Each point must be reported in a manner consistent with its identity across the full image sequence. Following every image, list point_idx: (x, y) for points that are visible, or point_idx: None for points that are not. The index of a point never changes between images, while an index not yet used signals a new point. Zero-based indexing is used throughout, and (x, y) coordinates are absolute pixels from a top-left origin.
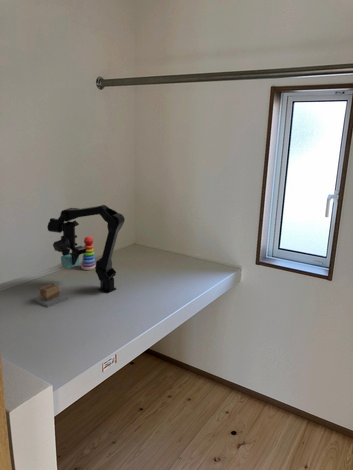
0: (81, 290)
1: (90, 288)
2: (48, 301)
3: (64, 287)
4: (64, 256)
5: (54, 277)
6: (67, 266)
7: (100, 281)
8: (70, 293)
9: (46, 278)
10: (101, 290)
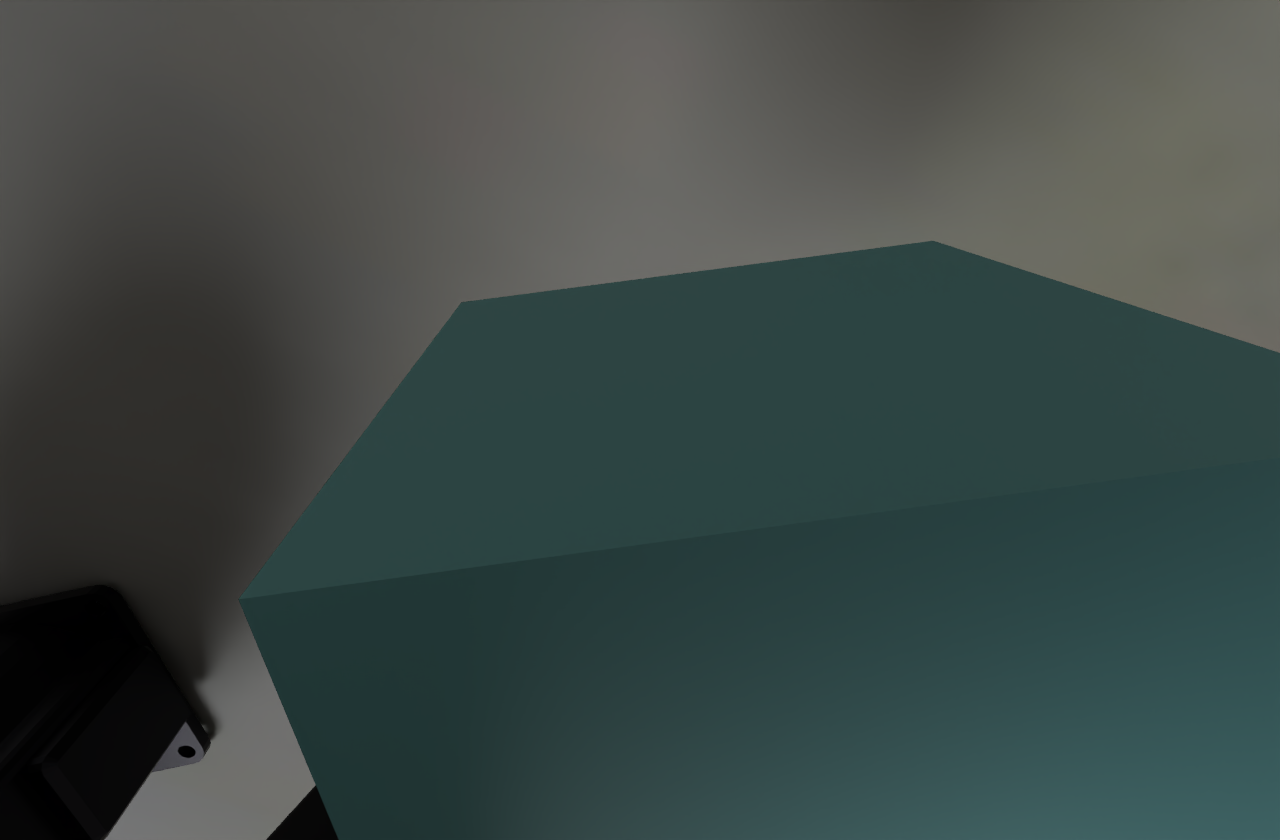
0: (226, 342)
1: (243, 509)
2: None
3: (553, 132)
4: (1154, 697)
5: (1153, 216)
6: (442, 342)
7: (60, 734)
8: (169, 78)
9: (1250, 42)
10: (25, 603)
